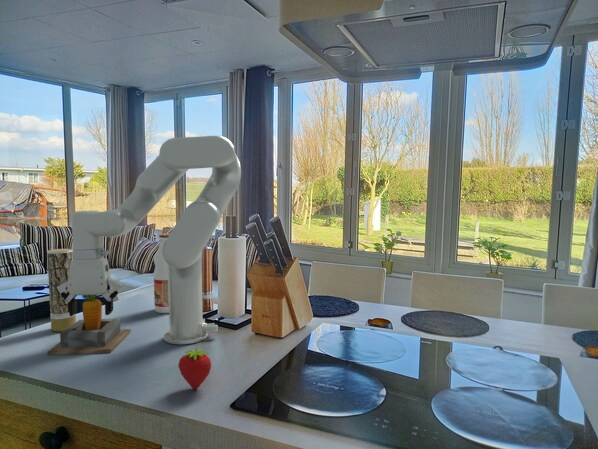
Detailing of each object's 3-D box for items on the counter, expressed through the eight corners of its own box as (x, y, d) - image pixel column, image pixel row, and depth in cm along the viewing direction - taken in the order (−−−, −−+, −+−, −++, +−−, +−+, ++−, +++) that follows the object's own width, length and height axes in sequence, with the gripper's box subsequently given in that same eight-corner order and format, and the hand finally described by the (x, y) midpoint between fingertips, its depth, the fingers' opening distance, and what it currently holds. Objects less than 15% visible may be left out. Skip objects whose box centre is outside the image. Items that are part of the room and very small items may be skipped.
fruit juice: (175, 314, 141) (173, 235, 139) (150, 313, 142) (147, 235, 140) (185, 306, 150) (183, 232, 148) (161, 306, 151) (159, 232, 149)
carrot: (81, 343, 111) (79, 290, 110) (85, 336, 116) (83, 286, 114) (101, 341, 112) (99, 289, 111) (104, 335, 117) (102, 285, 116)
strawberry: (190, 379, 91) (189, 336, 91) (217, 385, 88) (216, 341, 88) (172, 391, 86) (171, 346, 85) (200, 398, 83) (199, 351, 82)
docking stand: (130, 332, 123) (130, 316, 122) (110, 352, 107) (109, 334, 106) (76, 333, 121) (75, 317, 121) (47, 354, 105) (47, 336, 105)
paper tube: (68, 332, 122) (64, 251, 120) (46, 332, 122) (42, 251, 120) (80, 325, 129) (77, 248, 127) (59, 325, 129) (56, 248, 127)
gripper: (125, 252, 117) (127, 309, 118) (63, 253, 115) (65, 311, 116) (115, 256, 109) (117, 317, 110) (49, 257, 108) (52, 319, 109)
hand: (91, 314), depth 113 cm, fingers open, 9 cm apart
